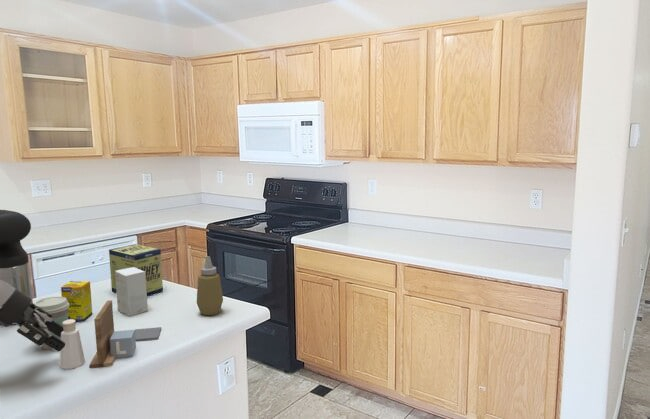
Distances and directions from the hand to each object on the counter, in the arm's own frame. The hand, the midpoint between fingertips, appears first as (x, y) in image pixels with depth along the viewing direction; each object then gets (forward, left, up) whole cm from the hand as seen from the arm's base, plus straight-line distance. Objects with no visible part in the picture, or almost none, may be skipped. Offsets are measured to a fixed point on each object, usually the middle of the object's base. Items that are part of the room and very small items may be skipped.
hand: (63, 340), depth 111 cm
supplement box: (-6, +32, -7) cm, 33 cm away
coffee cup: (-7, +14, -7) cm, 17 cm away
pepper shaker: (+1, +1, -7) cm, 7 cm away
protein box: (+8, +54, -7) cm, 55 cm away
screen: (+8, +5, -7) cm, 12 cm away
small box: (+9, +35, -7) cm, 37 cm away
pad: (+16, +15, -7) cm, 23 cm away
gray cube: (+12, +5, -7) cm, 15 cm away
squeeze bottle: (+33, +28, -7) cm, 44 cm away
